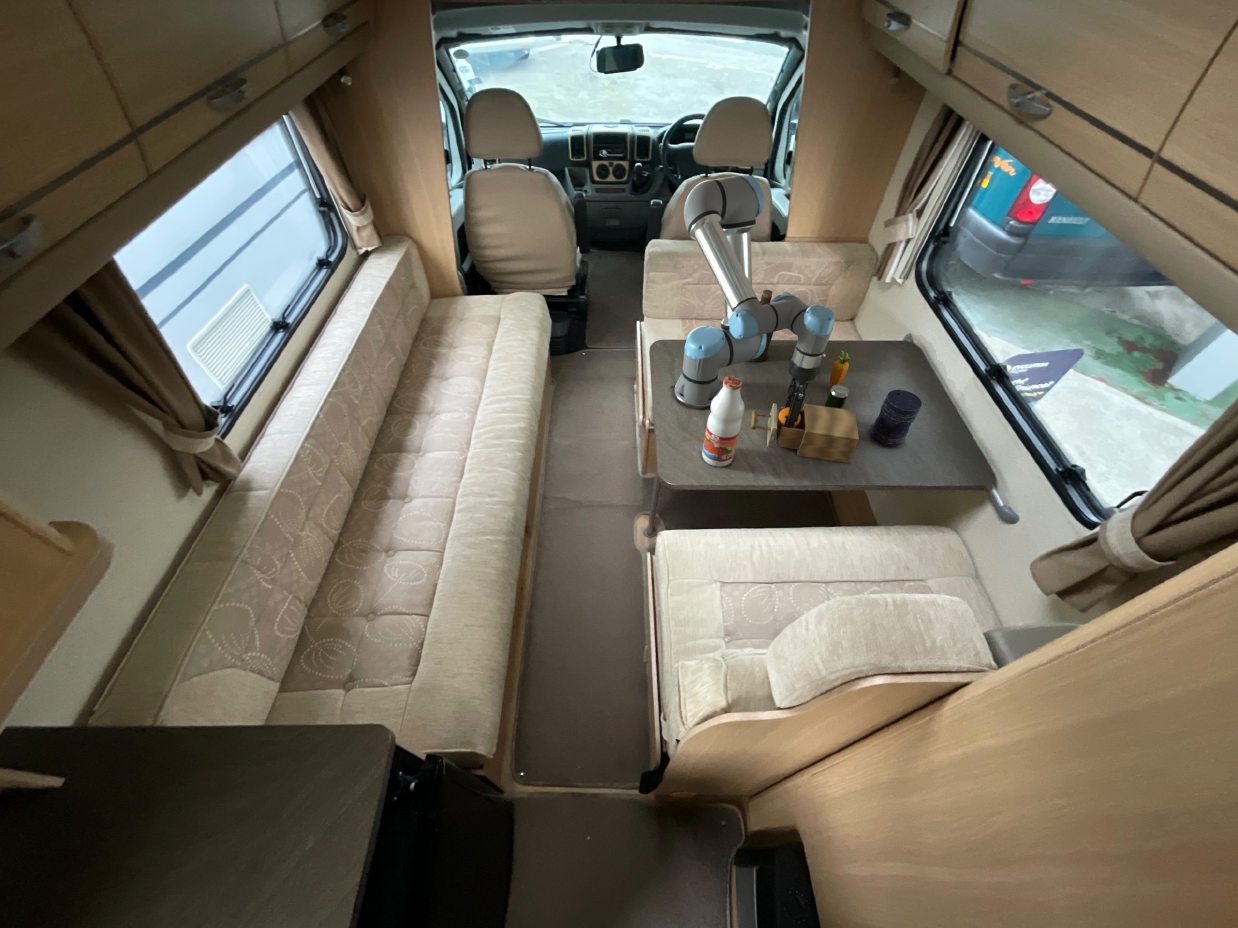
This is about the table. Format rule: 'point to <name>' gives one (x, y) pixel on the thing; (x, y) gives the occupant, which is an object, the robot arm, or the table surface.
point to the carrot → (839, 370)
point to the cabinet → (828, 433)
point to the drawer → (781, 429)
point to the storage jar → (895, 418)
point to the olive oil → (766, 300)
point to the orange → (782, 418)
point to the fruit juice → (724, 424)
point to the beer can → (837, 397)
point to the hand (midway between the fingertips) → (786, 425)
